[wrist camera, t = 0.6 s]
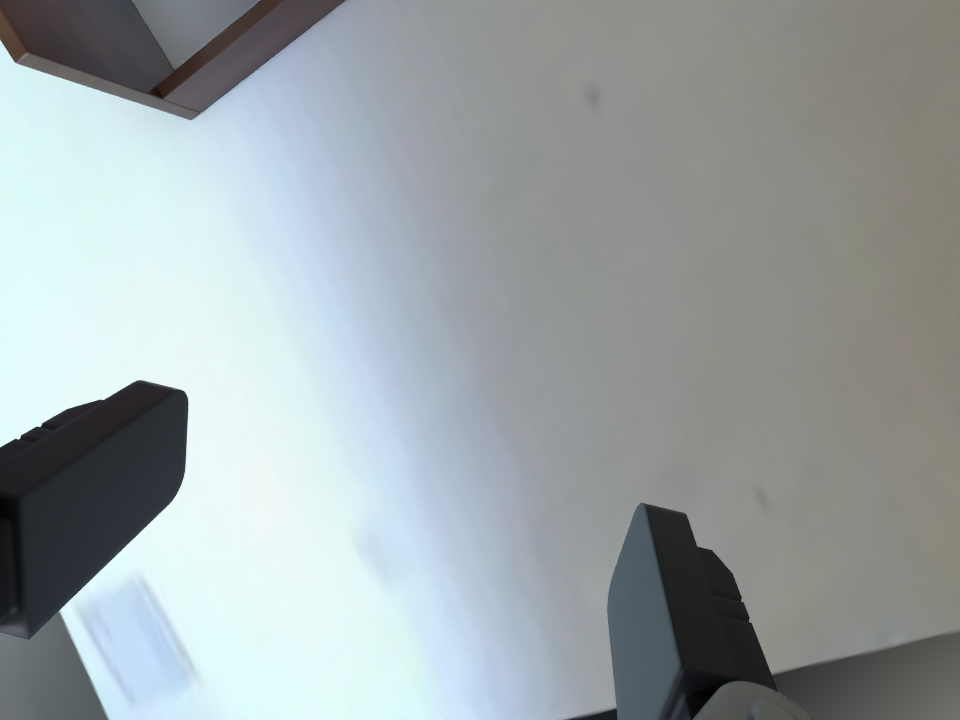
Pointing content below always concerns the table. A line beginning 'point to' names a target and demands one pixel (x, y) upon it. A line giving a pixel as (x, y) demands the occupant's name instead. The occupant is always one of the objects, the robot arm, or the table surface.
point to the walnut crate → (148, 48)
